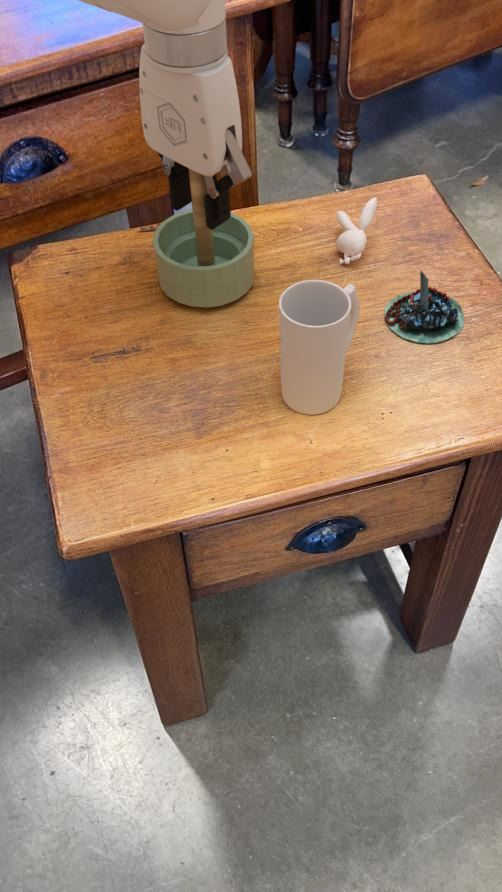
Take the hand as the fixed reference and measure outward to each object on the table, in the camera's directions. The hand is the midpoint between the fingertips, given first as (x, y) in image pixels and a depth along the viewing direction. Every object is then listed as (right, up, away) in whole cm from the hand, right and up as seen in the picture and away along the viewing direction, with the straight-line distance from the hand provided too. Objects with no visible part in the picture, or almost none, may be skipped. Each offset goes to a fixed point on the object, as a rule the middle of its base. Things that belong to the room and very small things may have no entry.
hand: (201, 212), depth 90 cm
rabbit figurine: (+18, 0, +12) cm, 21 cm away
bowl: (0, -5, +7) cm, 9 cm away
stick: (0, -5, +7) cm, 8 cm away
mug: (+13, -19, -2) cm, 23 cm away
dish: (+25, -11, +4) cm, 27 cm away
